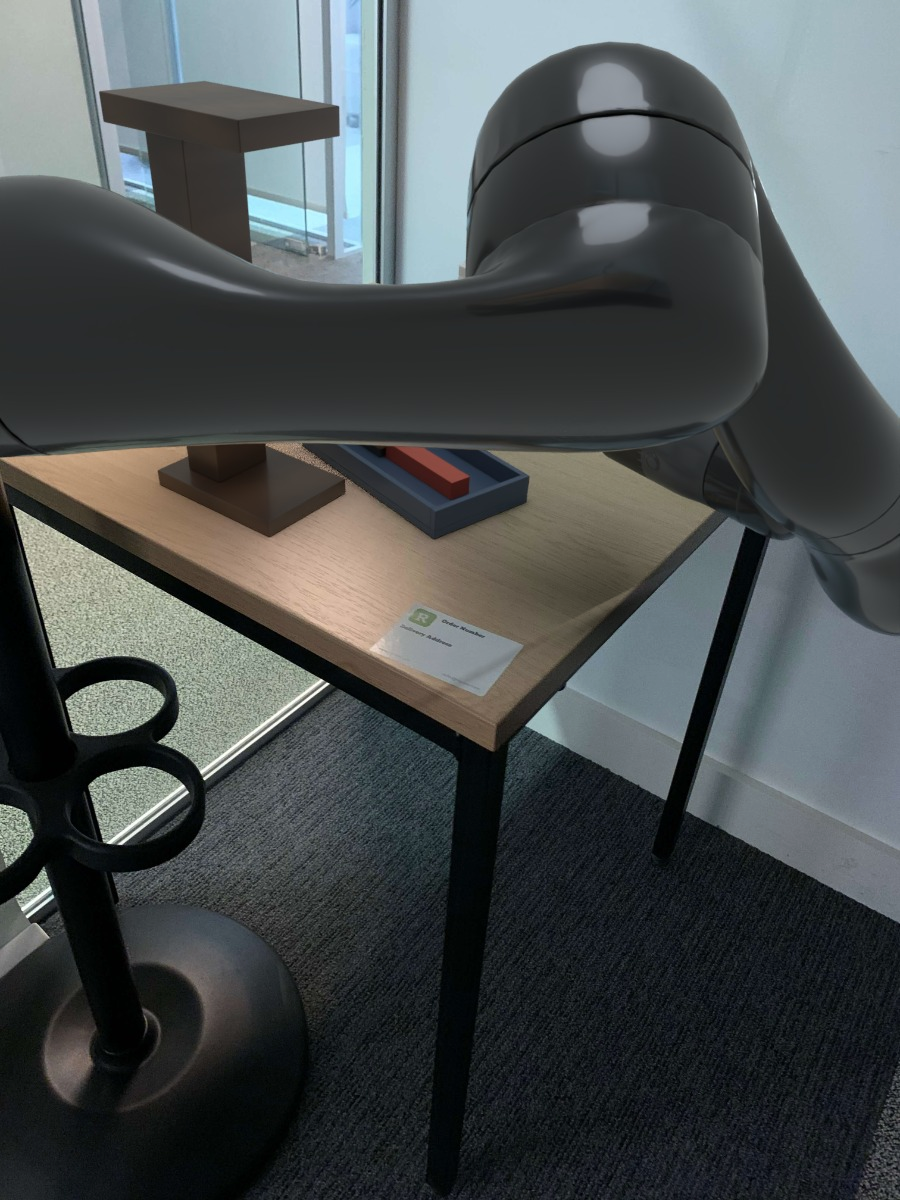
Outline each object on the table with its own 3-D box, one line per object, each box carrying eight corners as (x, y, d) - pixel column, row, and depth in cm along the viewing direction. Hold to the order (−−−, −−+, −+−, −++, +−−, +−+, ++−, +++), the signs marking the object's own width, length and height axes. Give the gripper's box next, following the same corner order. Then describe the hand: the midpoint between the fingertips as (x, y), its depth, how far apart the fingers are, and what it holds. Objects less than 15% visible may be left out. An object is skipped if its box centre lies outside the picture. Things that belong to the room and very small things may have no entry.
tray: (526, 502, 85) (530, 475, 83) (433, 539, 79) (435, 511, 77) (391, 419, 97) (391, 394, 96) (302, 445, 91) (300, 420, 90)
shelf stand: (345, 492, 84) (339, 105, 65) (269, 537, 77) (238, 119, 58) (238, 446, 90) (204, 80, 71) (159, 484, 84) (98, 91, 64)
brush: (474, 491, 84) (476, 462, 82) (445, 502, 82) (446, 473, 80) (367, 423, 94) (367, 397, 92) (339, 432, 92) (338, 404, 91)
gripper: (758, 357, 62) (587, 290, 72) (621, 404, 55) (450, 321, 64) (731, 455, 67) (573, 379, 76) (601, 510, 59) (444, 418, 69)
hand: (517, 353), depth 70 cm, fingers open, 8 cm apart
